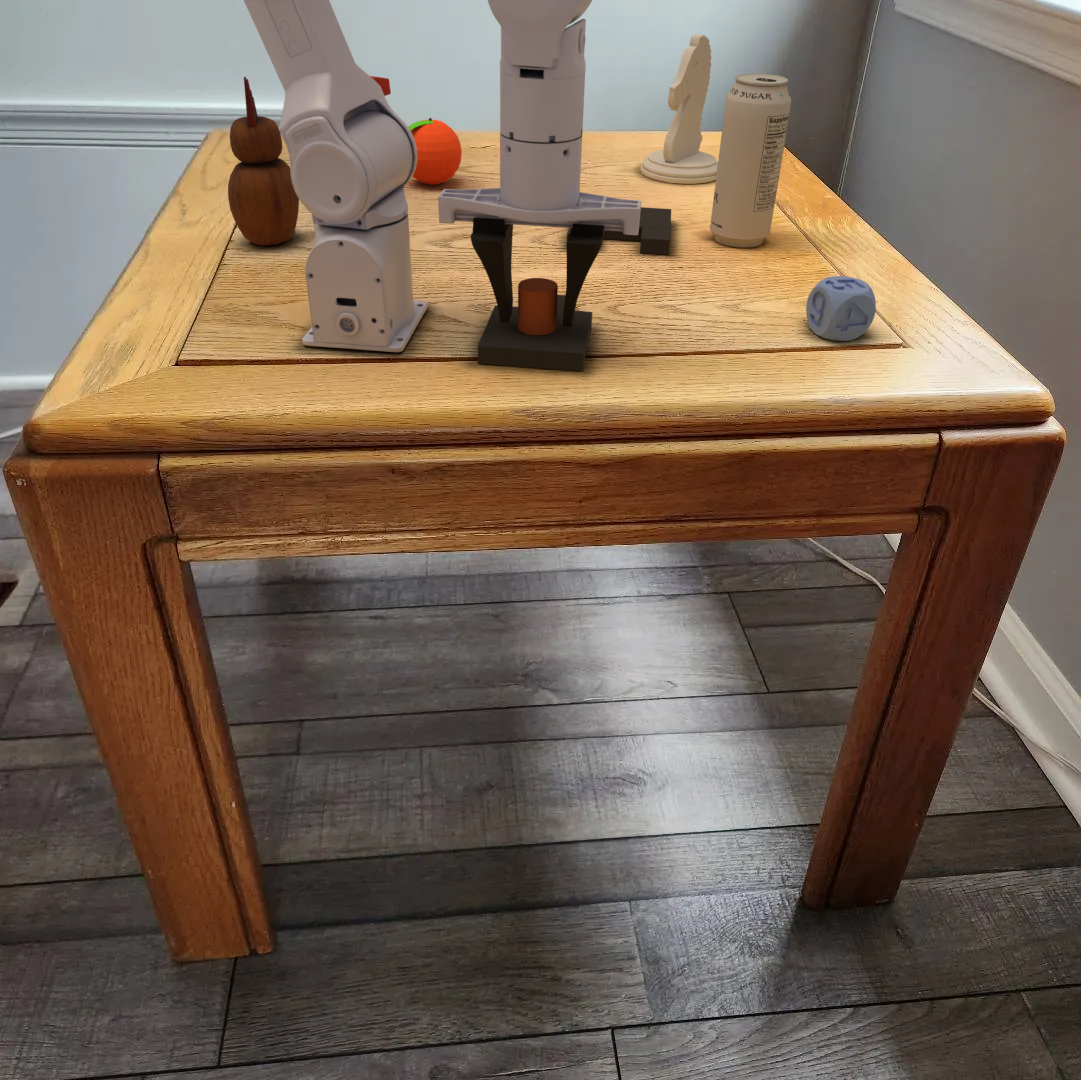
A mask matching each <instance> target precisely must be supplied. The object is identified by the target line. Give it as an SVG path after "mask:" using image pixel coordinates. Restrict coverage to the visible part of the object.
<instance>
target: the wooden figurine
mask: <svg viewBox="0 0 1081 1080" xmlns="http://www.w3.org/2000/svg"><path fill="white" fill-rule="evenodd" d="M243 86H244V99H245V111H246V116H241V117H239V118H236V119H234V121H232V124H231V125H230V131H229V144H230V149H231V152H232V154H233V156H234V157H235V158H236V159H237V160H238V161H239V162H238V163H237V164H235V166H234V168H233V169H232V171H231V173H230V175H229V179H228V184H227V199H228V206H229V210H230V213H231V215H232V217H233V220H234V222H235V224H236V226H237V228H238V230H239V232H240V233H241V234H242V237H243V238H245V240H247V241H248V242H250V243H252V244H254V245H258V246H259V245H260V246H265V247H267V246H275V245H280V244H282V243H285V242H287V241H289V240H290V239H292V236H293V235H294V234H295V231H296V227H297V225H298V224H297V223H298V217H299V211H300V210H299V209H300V207H299V206H300V200H299V198H298V196H297V194H296V192H295V190H294V187H293V184H292V180H291V172H290V165H289V164H288V163H287V162H286V161H285V160H283V159H282V158H280V156H281V154H282V153H283V140H282V139H283V138H282V135H281V133H280V127H279V125H278V123H276V121H275V120H274V119H272V118H269V117H267V116H261V115H258V110H257V106H256V102H255V98H254V96H253V93H252V89H251V87H250V82H249V79H248V78H247V76H243Z"/></svg>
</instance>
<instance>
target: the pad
mask: <svg viewBox="0 0 1081 1080" xmlns="http://www.w3.org/2000/svg"><path fill="white" fill-rule="evenodd" d="M558 289H559V286H558V283H557V282H556V281H555V280H552V279H549V278H543V277H530V278H525V279H522V280H521V281H519V283H518V285H517V306H514V305H513V310H512V315H511V317H510V320H509V322H500V318H499V312H498V307H497V304H495V305H494V306H493V309H492V311H491V314H490V316H489V318H488V320H487V323H486V325H485V328H484V330H483V333H482V334H481V337H480V340H479V342H478V344H477V364H478V365H489V366H490V365H491V366H503V367H506V366H507V367H516V368H529V369H530V368H531V369H543V370H556V371H557V370H558V371H570V372H583V371H584V368H585V361H586V357H587V352H588V348H589V343H590V337H591V333H592V326H593V312H592V311H587V310H586V311H585V310H584V311H582V310H575V316H574V321H573V325H572V327H566V326H563V311H564V303H565V295H566V294H558V293H559V291H558Z"/></svg>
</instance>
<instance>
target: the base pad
mask: <svg viewBox="0 0 1081 1080" xmlns="http://www.w3.org/2000/svg"><path fill="white" fill-rule="evenodd" d="M671 225H672V208H663V207H662V208H659V207H643V206H641V210H640V223H639V232H638V235H626V234H624V233H623V231H609V230H605V233H604V238H603V240H615V241H631V242H640V247H639V254H648V255H662V256H663V255H664V256H669V254H670V247H671V227H672V226H671ZM567 229H568V230H567V233H566V240H567V239H568V236H569V233H570V231H571V228H567Z"/></svg>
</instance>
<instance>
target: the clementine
mask: <svg viewBox="0 0 1081 1080" xmlns="http://www.w3.org/2000/svg"><path fill="white" fill-rule="evenodd" d="M407 126H408V128H409V129H410V131H411V133H412V135H413V137H414V140H415V143H416V147H417V165H416V169H415V172H414V174H413V176H412V178H413V179H415V180H416V181H418V182H419V183H422V184H426V185H430V186H431V185H433V186H434V185H435V186H436V185H439V184H443V183H446V182H447V181H449V180H450V179H452V177H454V175H455V174H456V173H457V171H458V170H459V168H460V165H461V163H462V152H463V151H462V145H461V141H460V139H459V137H458V135H457V133H456V132H455V130H454V129H453V128H452V127H451V126H449V125H448V124H447V123H446V122H444V121H442V120H438V119H433V118H432V117H429V118H428V119H423V120H422V119H421V120H418V121H415V122H413V123H411V124H410V125H407Z"/></svg>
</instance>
